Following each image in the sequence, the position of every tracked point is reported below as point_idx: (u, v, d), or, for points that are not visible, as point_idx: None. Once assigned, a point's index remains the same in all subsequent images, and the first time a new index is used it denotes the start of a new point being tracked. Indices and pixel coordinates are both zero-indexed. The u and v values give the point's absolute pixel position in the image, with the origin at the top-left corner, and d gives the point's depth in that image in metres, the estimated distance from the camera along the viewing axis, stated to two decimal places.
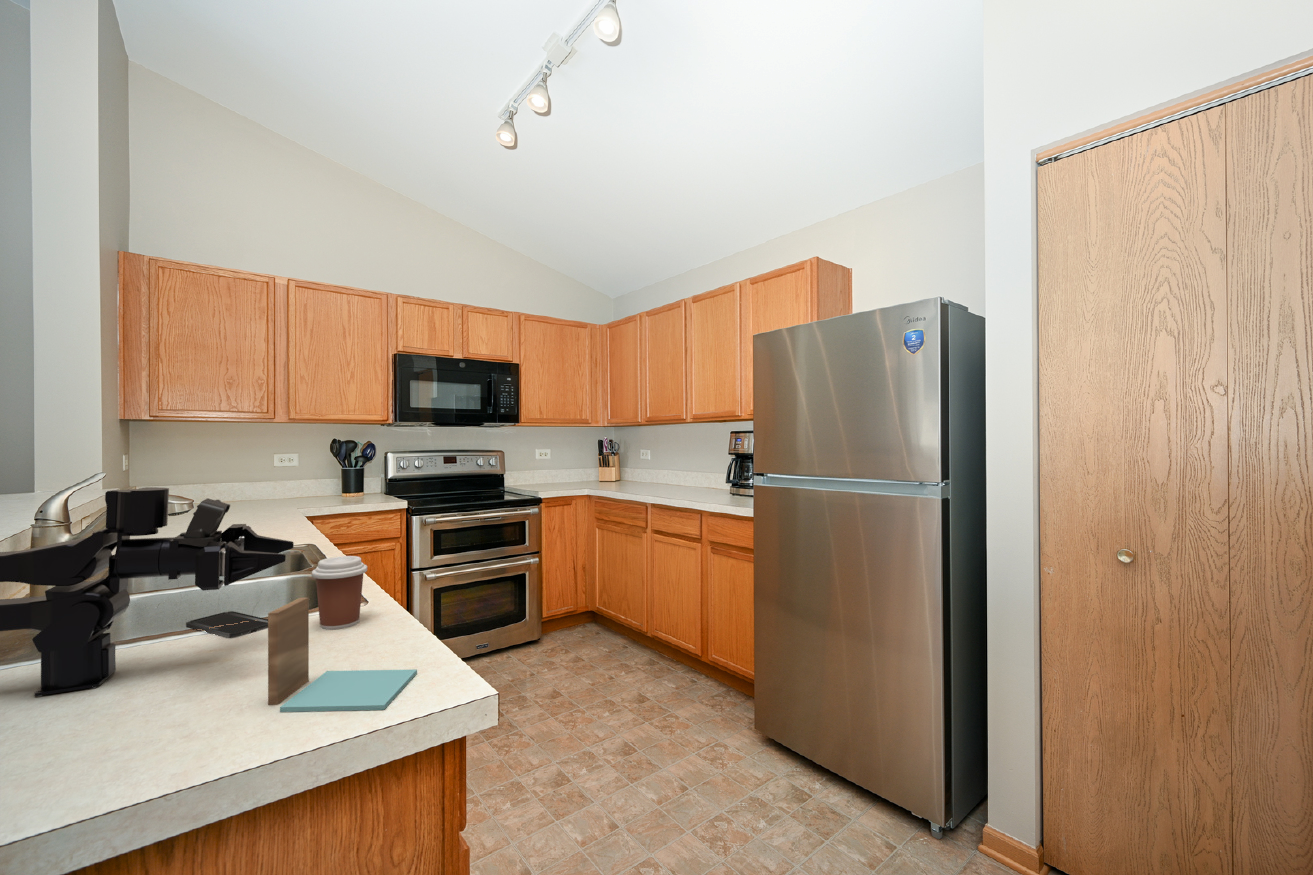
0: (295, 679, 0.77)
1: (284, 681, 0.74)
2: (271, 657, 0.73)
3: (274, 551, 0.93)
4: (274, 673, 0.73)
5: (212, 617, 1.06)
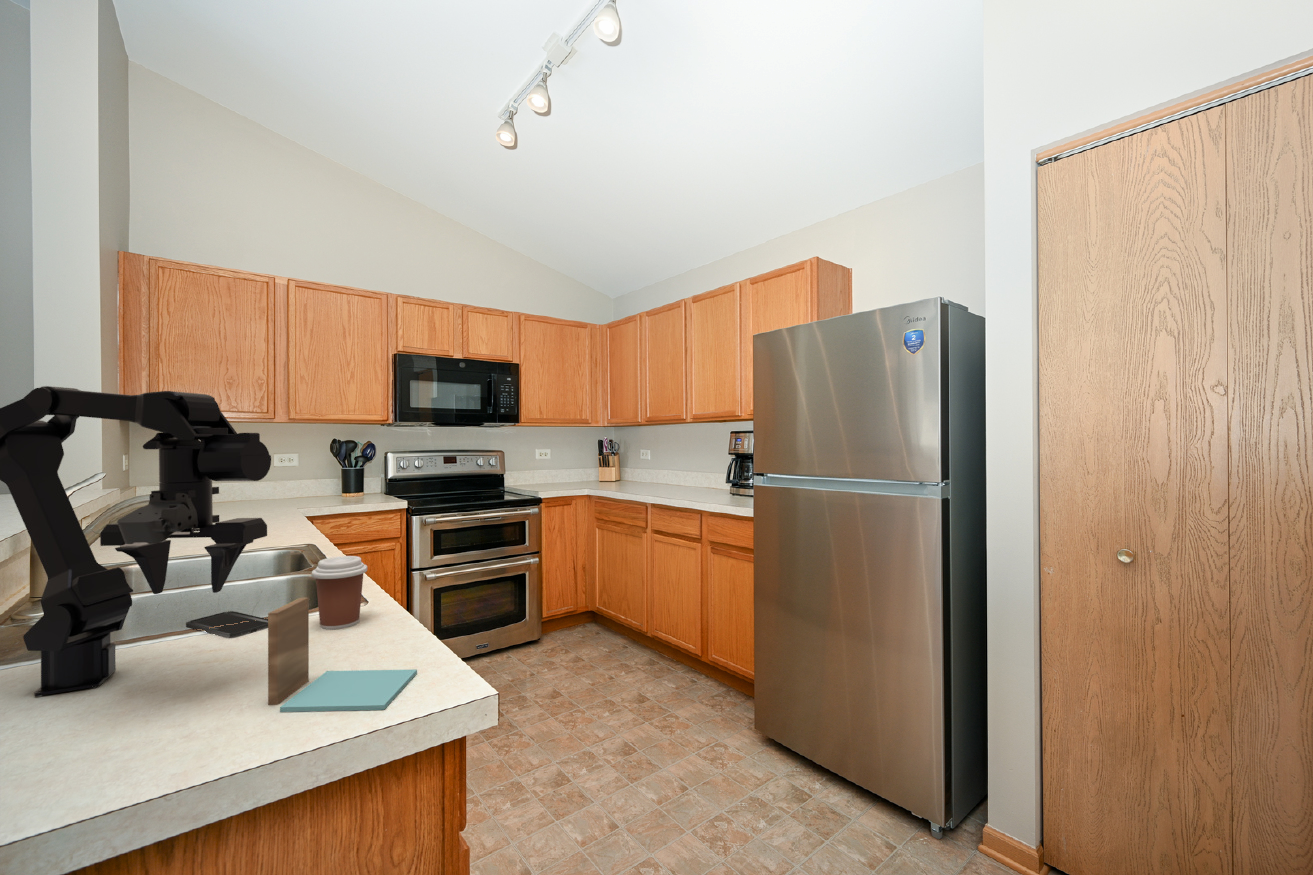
0: (295, 679, 0.77)
1: (284, 681, 0.74)
2: (271, 657, 0.73)
3: None
4: (274, 673, 0.73)
5: (212, 617, 1.06)
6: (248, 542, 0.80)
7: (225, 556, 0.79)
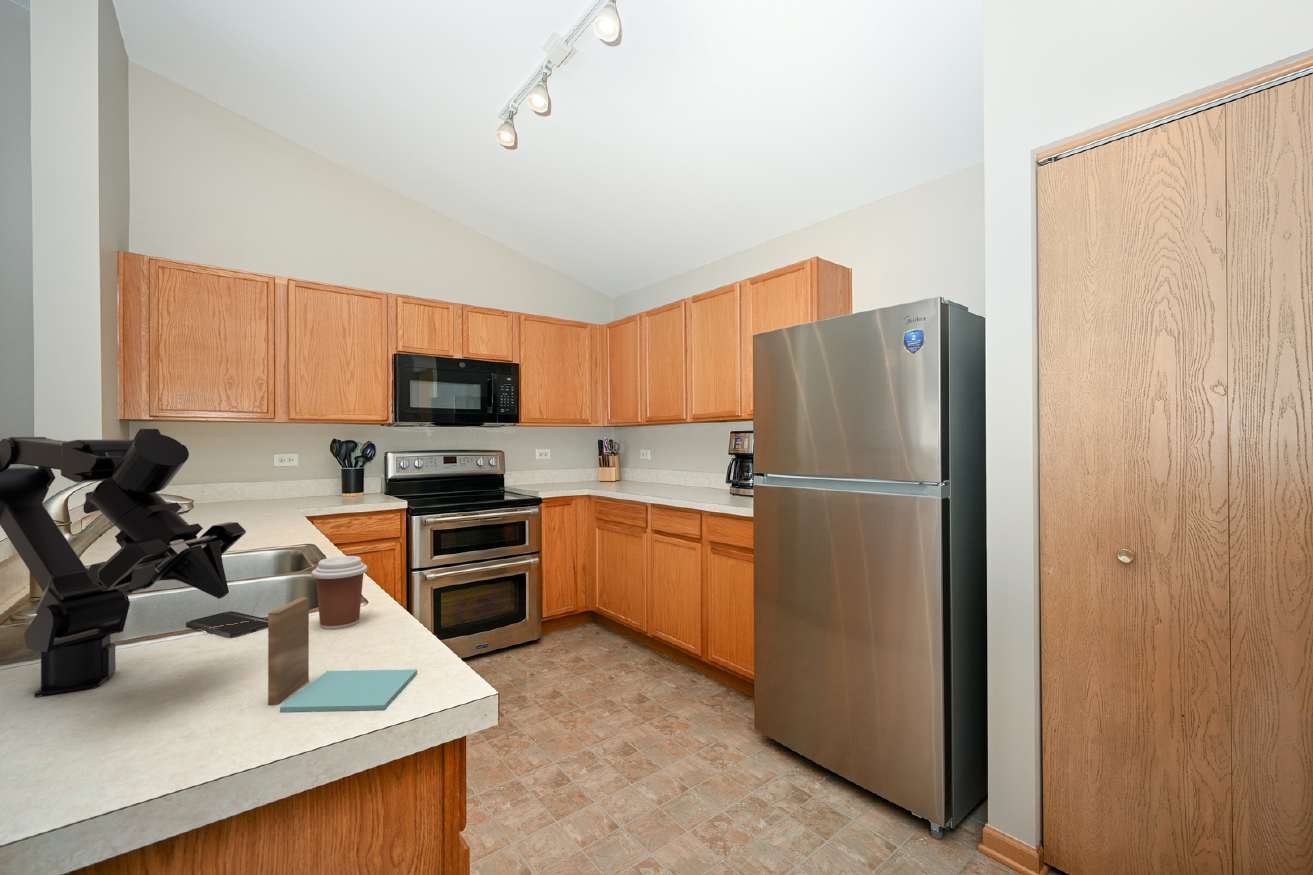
0: (295, 679, 0.77)
1: (284, 681, 0.74)
2: (271, 657, 0.73)
3: None
4: (274, 673, 0.73)
5: (212, 617, 1.06)
6: (175, 559, 0.72)
7: (191, 571, 0.75)
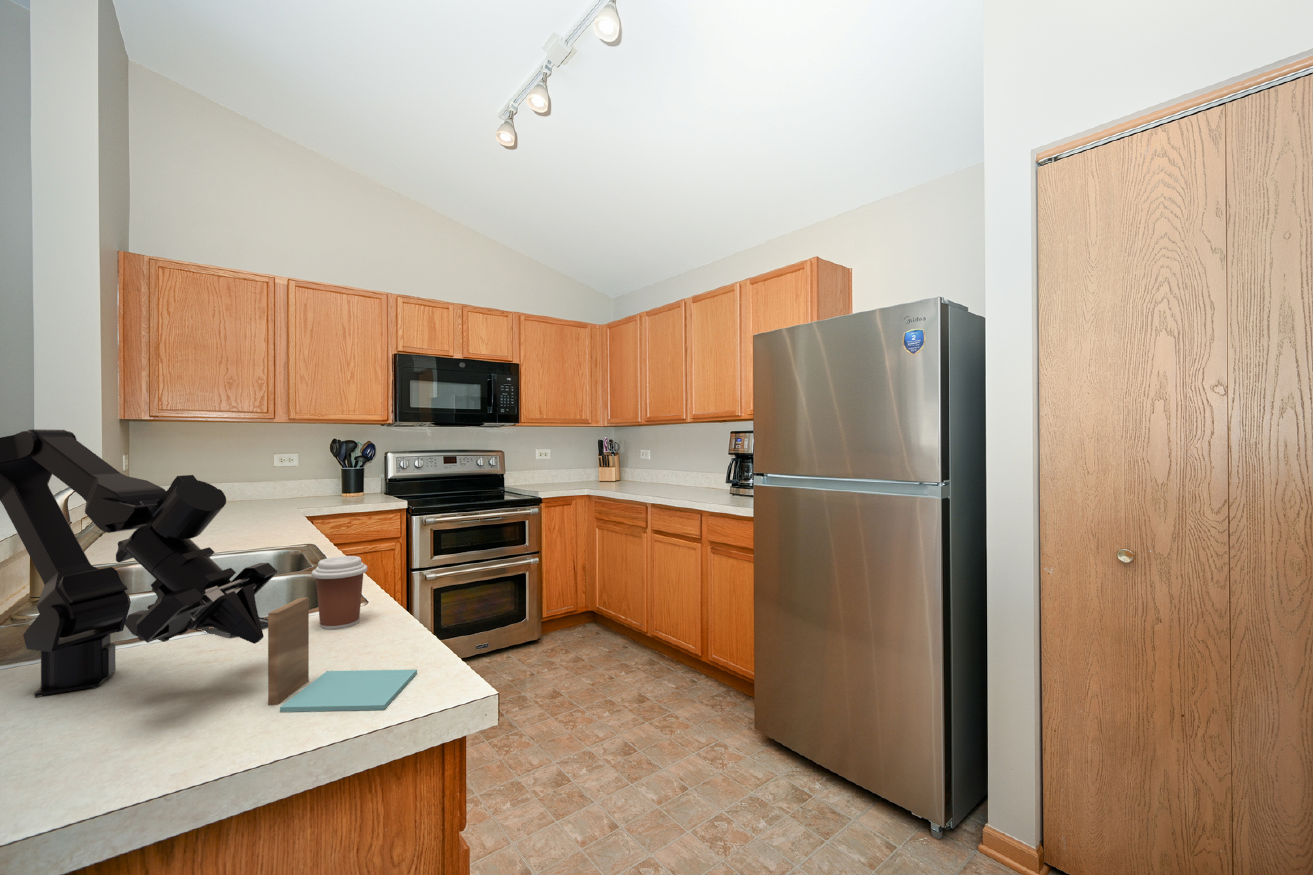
0: (295, 679, 0.77)
1: (284, 681, 0.74)
2: (271, 657, 0.73)
3: None
4: (274, 673, 0.73)
5: None
6: (211, 607, 0.72)
7: (226, 617, 0.75)
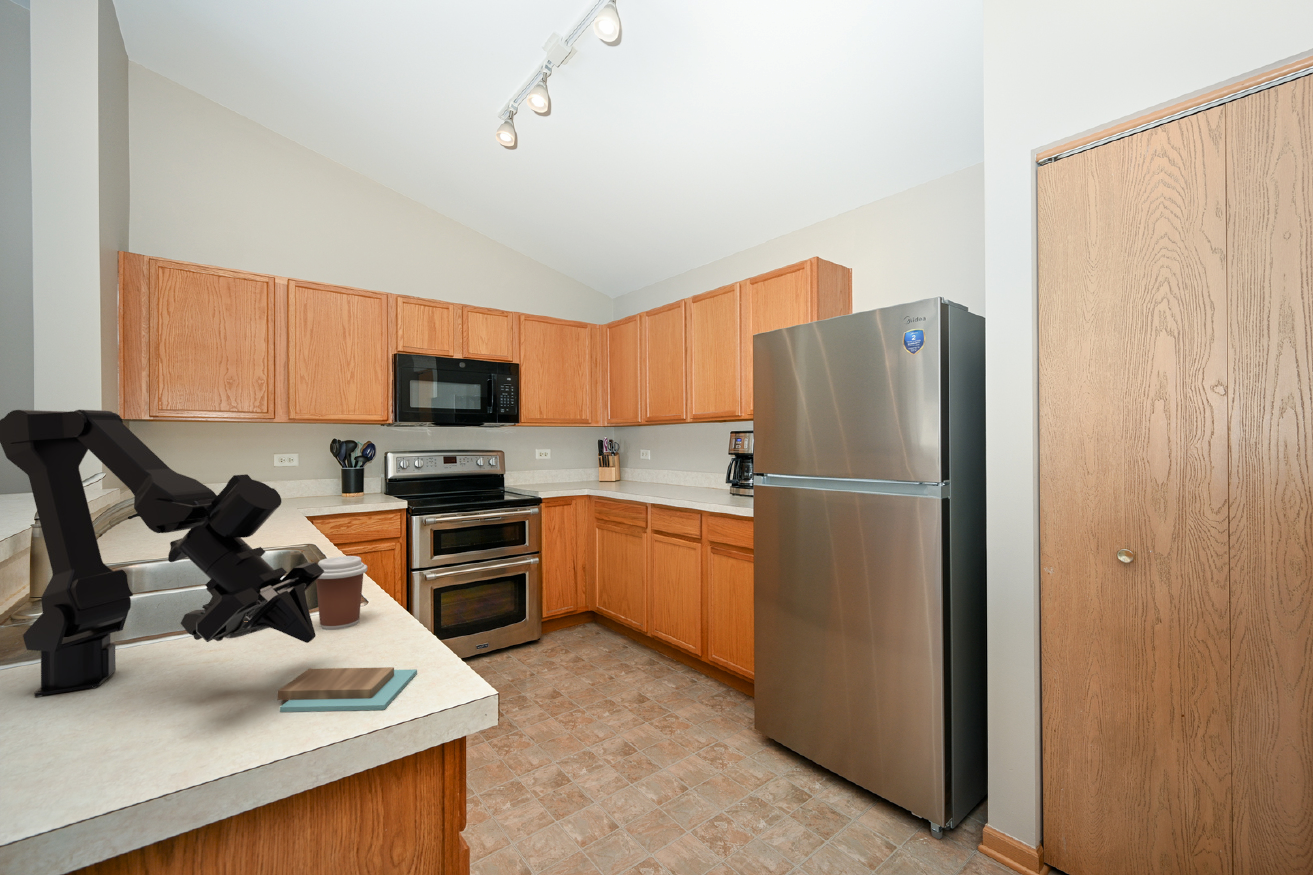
0: None
1: None
2: (326, 693, 0.73)
3: None
4: (309, 696, 0.73)
5: None
6: (266, 606, 0.73)
7: (279, 617, 0.75)
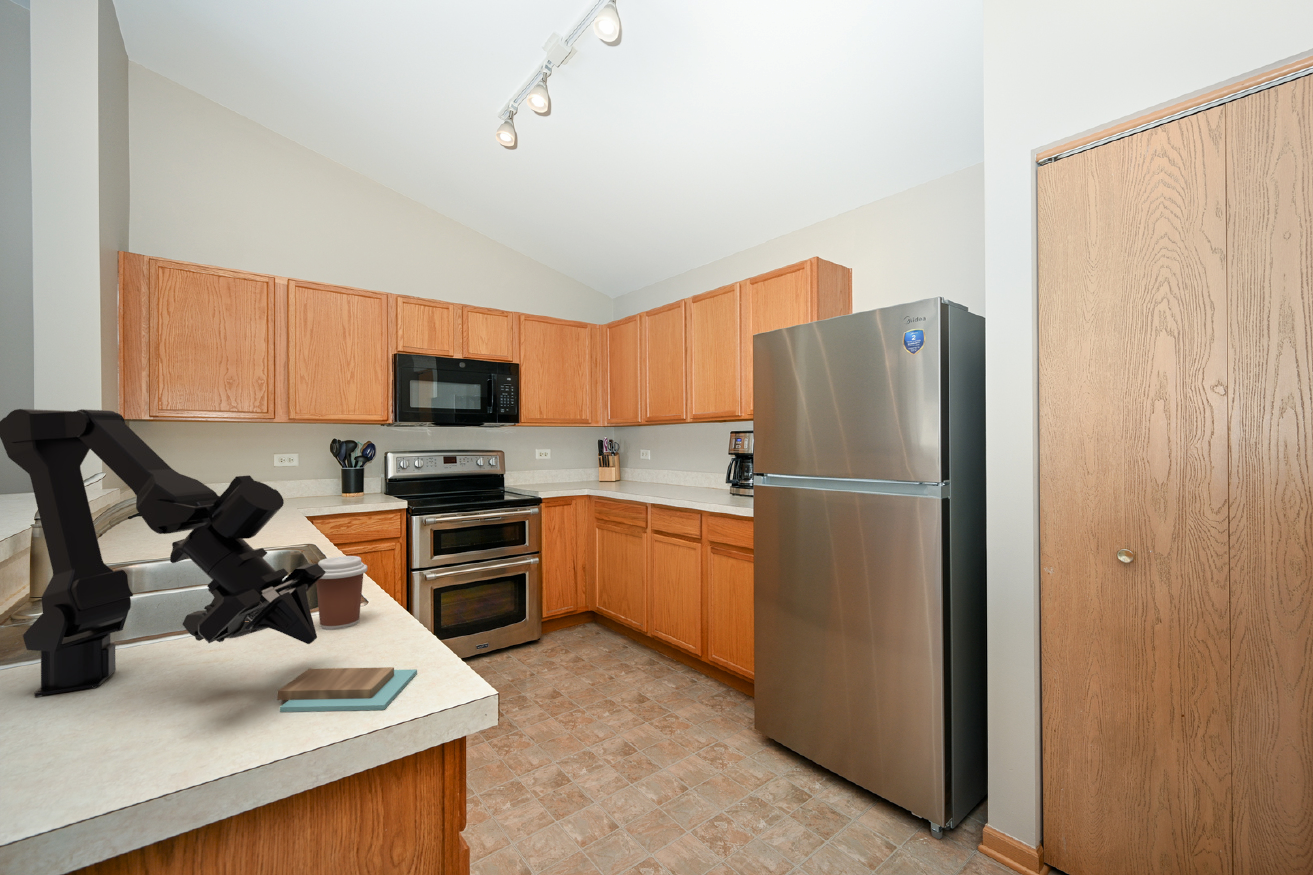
0: None
1: None
2: (326, 693, 0.73)
3: None
4: (309, 696, 0.73)
5: None
6: (268, 607, 0.73)
7: (281, 618, 0.75)
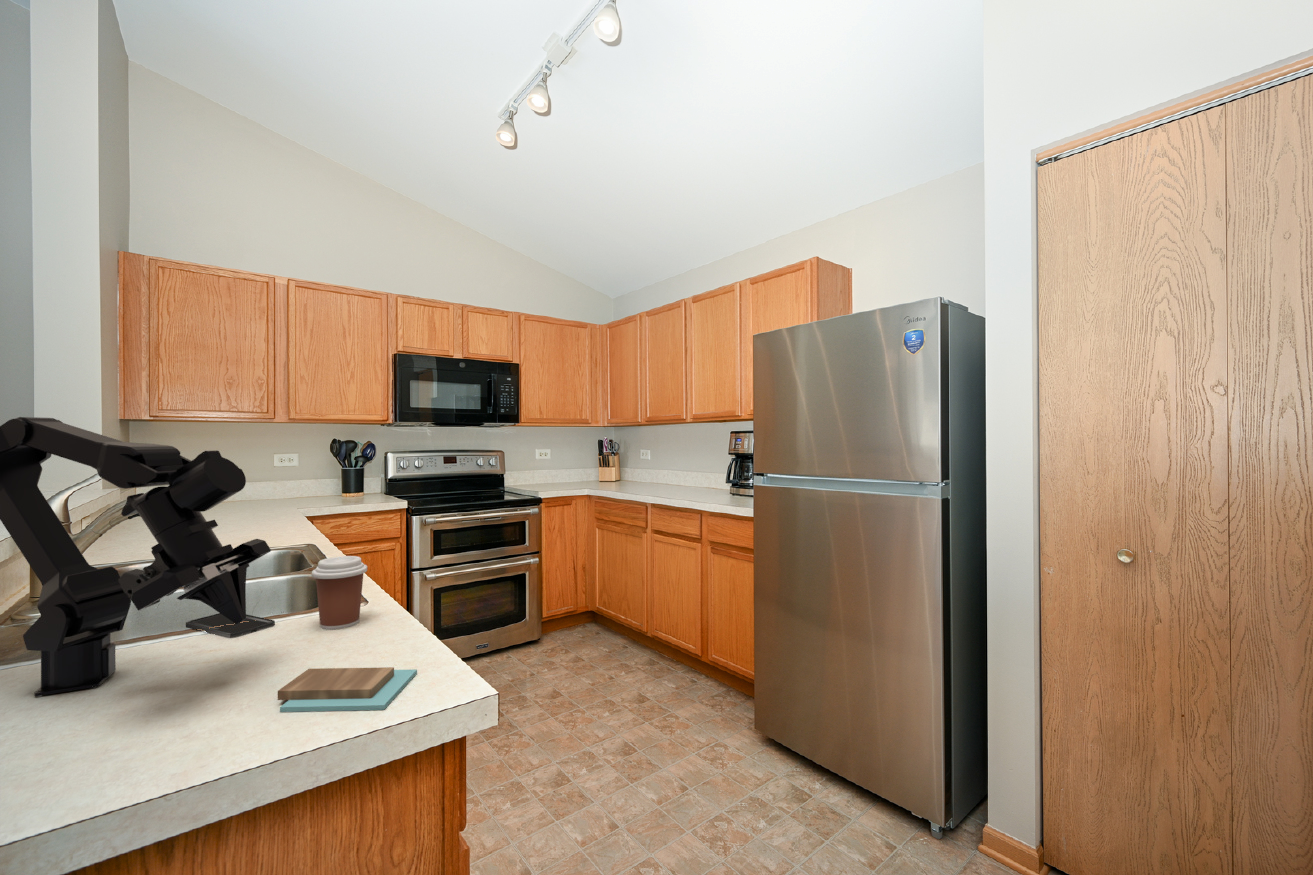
0: None
1: None
2: (326, 693, 0.73)
3: None
4: (309, 696, 0.73)
5: (212, 617, 1.06)
6: (204, 584, 0.75)
7: (215, 594, 0.77)
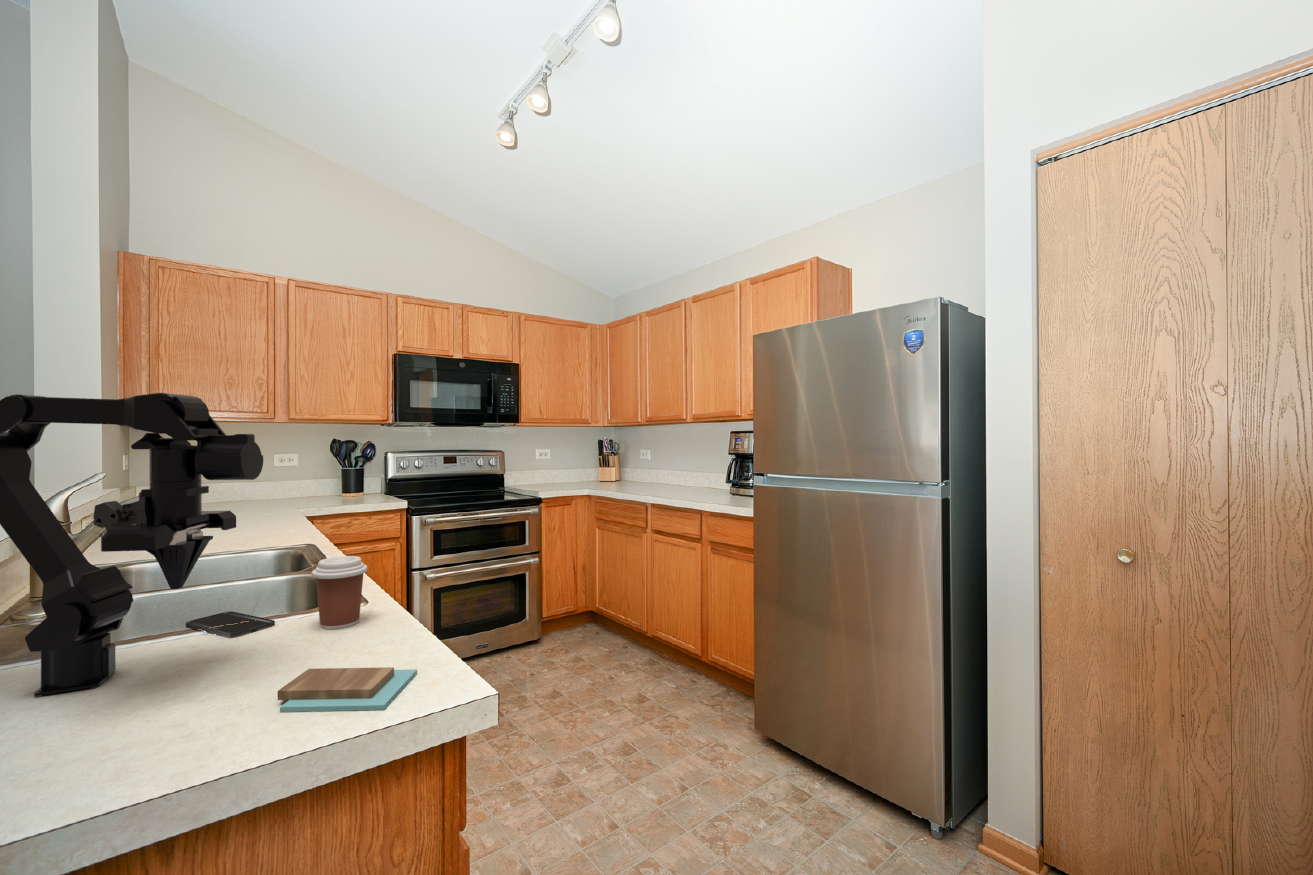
0: None
1: None
2: (326, 693, 0.73)
3: None
4: (309, 696, 0.73)
5: (211, 617, 1.06)
6: (169, 547, 0.77)
7: (170, 556, 0.79)
